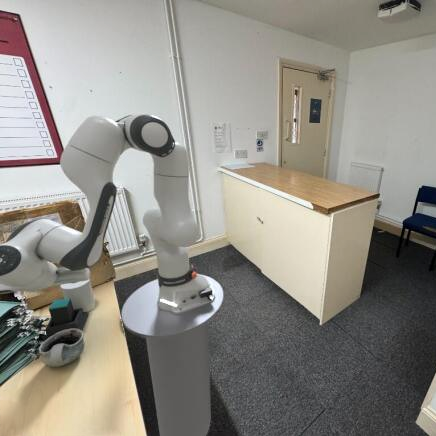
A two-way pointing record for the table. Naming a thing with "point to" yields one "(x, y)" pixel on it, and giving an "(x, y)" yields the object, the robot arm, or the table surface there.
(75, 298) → the cup
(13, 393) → the table surface
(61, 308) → the teal and black block
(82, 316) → the black open tray
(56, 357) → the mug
